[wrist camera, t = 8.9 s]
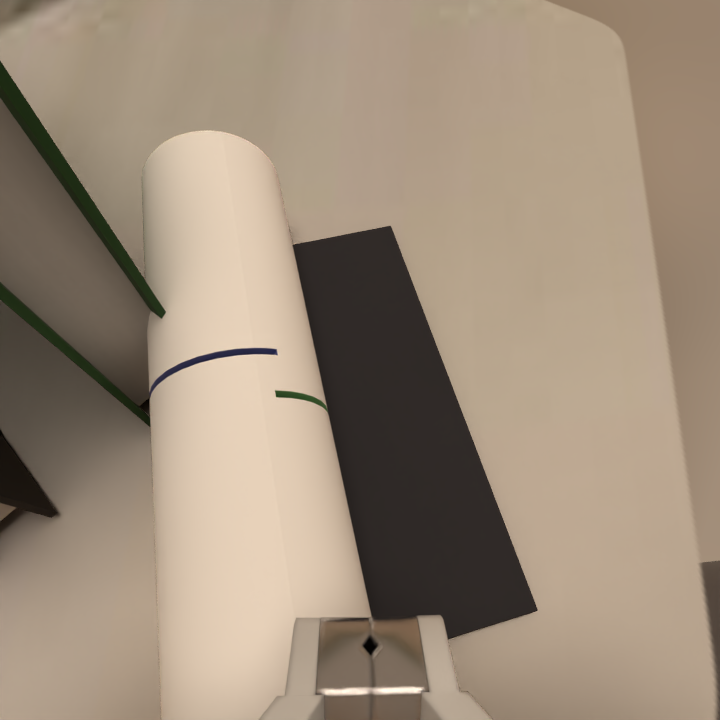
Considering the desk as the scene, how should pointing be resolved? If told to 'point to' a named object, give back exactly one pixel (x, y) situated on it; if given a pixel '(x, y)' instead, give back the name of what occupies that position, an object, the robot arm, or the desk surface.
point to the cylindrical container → (235, 435)
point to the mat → (404, 443)
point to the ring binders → (64, 277)
